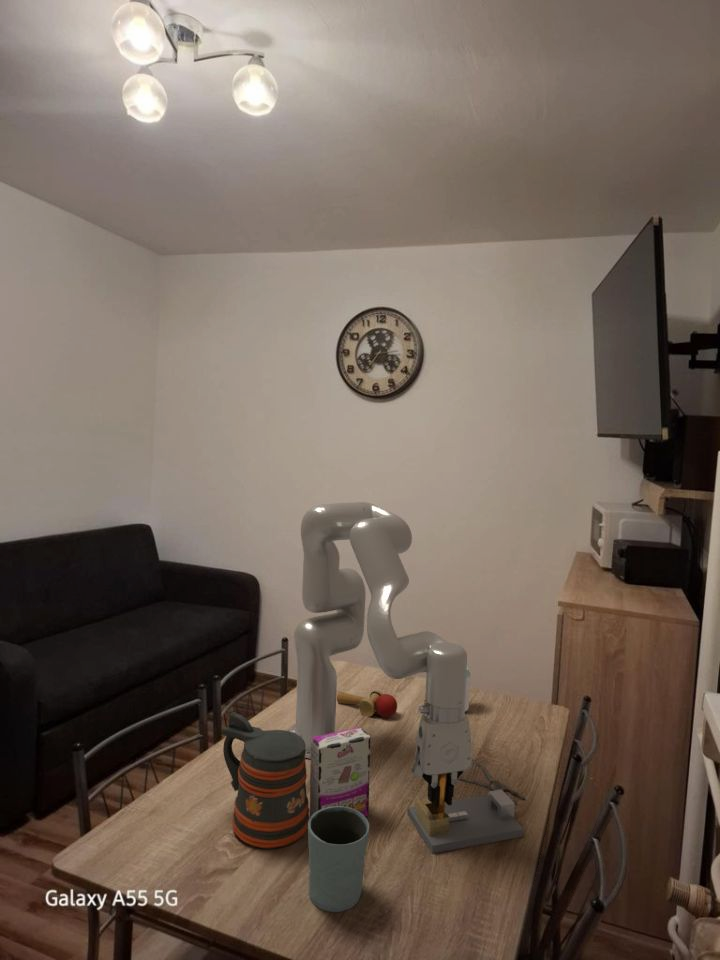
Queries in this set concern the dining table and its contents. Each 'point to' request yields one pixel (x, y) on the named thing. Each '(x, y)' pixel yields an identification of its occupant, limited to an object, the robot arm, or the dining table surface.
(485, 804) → the tie down board
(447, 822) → the bracket
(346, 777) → the candy bar box
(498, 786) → the pliers
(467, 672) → the can
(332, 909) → the grey green cup
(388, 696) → the kendama
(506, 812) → the block
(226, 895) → the dining table surface
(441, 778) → the amber lever
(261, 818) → the beer stein
